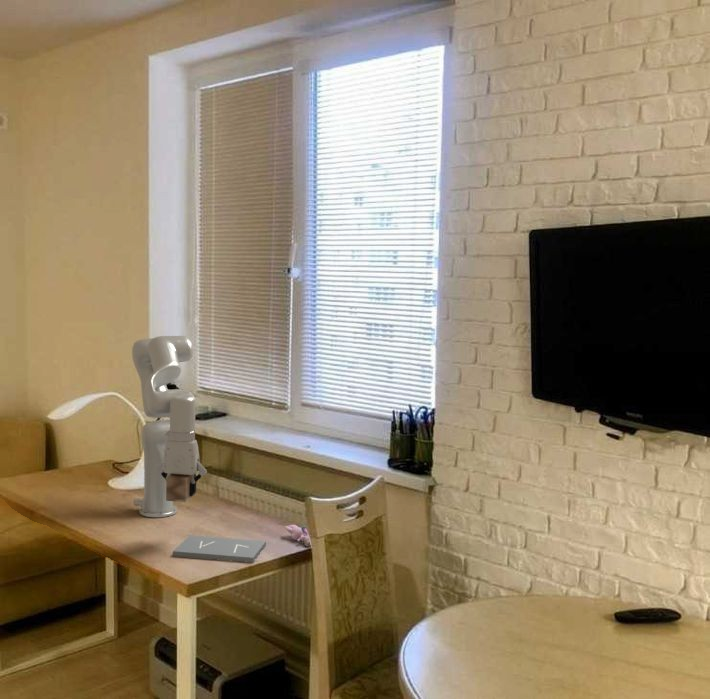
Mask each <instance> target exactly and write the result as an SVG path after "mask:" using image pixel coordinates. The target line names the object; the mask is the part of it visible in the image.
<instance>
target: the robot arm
mask: <svg viewBox="0 0 710 699" xmlns="http://www.w3.org/2000/svg"><path fill="white" fill-rule="evenodd" d="M131 355H132V356H131V357H132V361H133V364H134V367H135V370H136V373H137V374H138V377H139V379H140V386H141V396H142V407H143V411H144V415H145V416H146V417H148V418H152V419H159V418H169V419H165V420H164V419H163V420H152V421H148V422H146V423H145V424H144V425H143V426H142V428H141V441H142V448H143V457H144V458H143V462H144V463H143V464H144V465H143V466H144V467H143V468H144V469H143V470H144V471H143V472H144V473H143V474H144V476H143V480H144V484H143V485H144V486H143V488H144V489H143V490H144V492H143V493H144V495H143V496H144V497H143V498H133V505H134V506H136V507H139V506H140V508H139V514H140V515H141V516H143V517H147V518H166V517H170V516H173V515H175V514H177V513H178V506H176V505H175V504H174V501H166V478H167V477H168V476H169V475H171V474H176V475H189V476H190V480H191V483H190V496H192V497H193V496H194V495H195V494H196V493H197V487H196V482H198V481H199V480H200V479H201V478H203V476H204V475H205V474H207V472H208V470H207V469H206V468H205V467H204V465H203V464H202V463H201V462H200V452H199V444H198V441H197V439H196V398H195V395H193V394H194V393H192V391H189V390H184V389H177V388H176V389H168V387H167V385H169V384H171V383H173V382H174V381H175V380H177V379H178V378H179V377H180V375H181V372H182V368H181V365H180V363H186V362H189V361H190V360H192V358H193V355H194V347H193V342H192V341H191V339H190V338H189V337H188V336H186V335H161V336H155V337H153V338H142V339H138V340H136V341H135V342H134V343H133V345H132V349H131ZM196 472H200V473H198V474H197V475H196Z"/></svg>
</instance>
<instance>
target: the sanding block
mask: <svg viewBox="0 0 710 699" xmlns="http://www.w3.org/2000/svg"><path fill="white" fill-rule="evenodd" d="M197 472H198V471H197ZM197 472H196V475H198V474H197ZM197 482H198V481H197ZM197 482H196V488H197V484H198V483H197ZM190 483H191V480H190V476H189V475H176V474H171V475H169V476H168V477H167V478H166V501H173V502H178V503H179V502H180V503H187V502H188V501H189V500H190V499H191V498H192V497H193V496H190Z"/></svg>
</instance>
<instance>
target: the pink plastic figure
mask: <svg viewBox="0 0 710 699" xmlns="http://www.w3.org/2000/svg"><path fill="white" fill-rule="evenodd" d="M283 528H284V529H286V531H288V533H290V536H291V538H292V539H293V540H294V541H297V542H300V541H302V543H304V546H305V547H307V548H308V547H309V548H310V547H311V545H310V540H309V535H308V534H309V531H308V530H307V526H306V525H302V526H301V527H299V526H298V525H296V524H289V525H285V526H284V527H283Z"/></svg>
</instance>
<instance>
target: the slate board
mask: <svg viewBox="0 0 710 699" xmlns="http://www.w3.org/2000/svg"><path fill="white" fill-rule="evenodd" d="M265 546H267V541H266V540H253V539H239V538H229V537H216V536H200V535H188V537H187V538H185V539H184V540H183V541H182V542H181V543H180V544H179V545H178V546H176V548H174V550H173V551H172V557H179V558H189V559H200V560H201V559H204V560H213V559H219V560H218V561H225V560H227V562H229V561H228V560H232V561H231V562H238V561H247V562H246V563H250V562H253V563H254V562H255V561H256V560H255V559H258V557H259V556H258V555H260V554H261V553H262V552H263V551H262V550H264V549H265V548H266V547H265ZM264 547H265V548H264ZM261 551H262V552H261ZM260 552H261V553H260ZM257 556H258V557H257Z"/></svg>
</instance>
